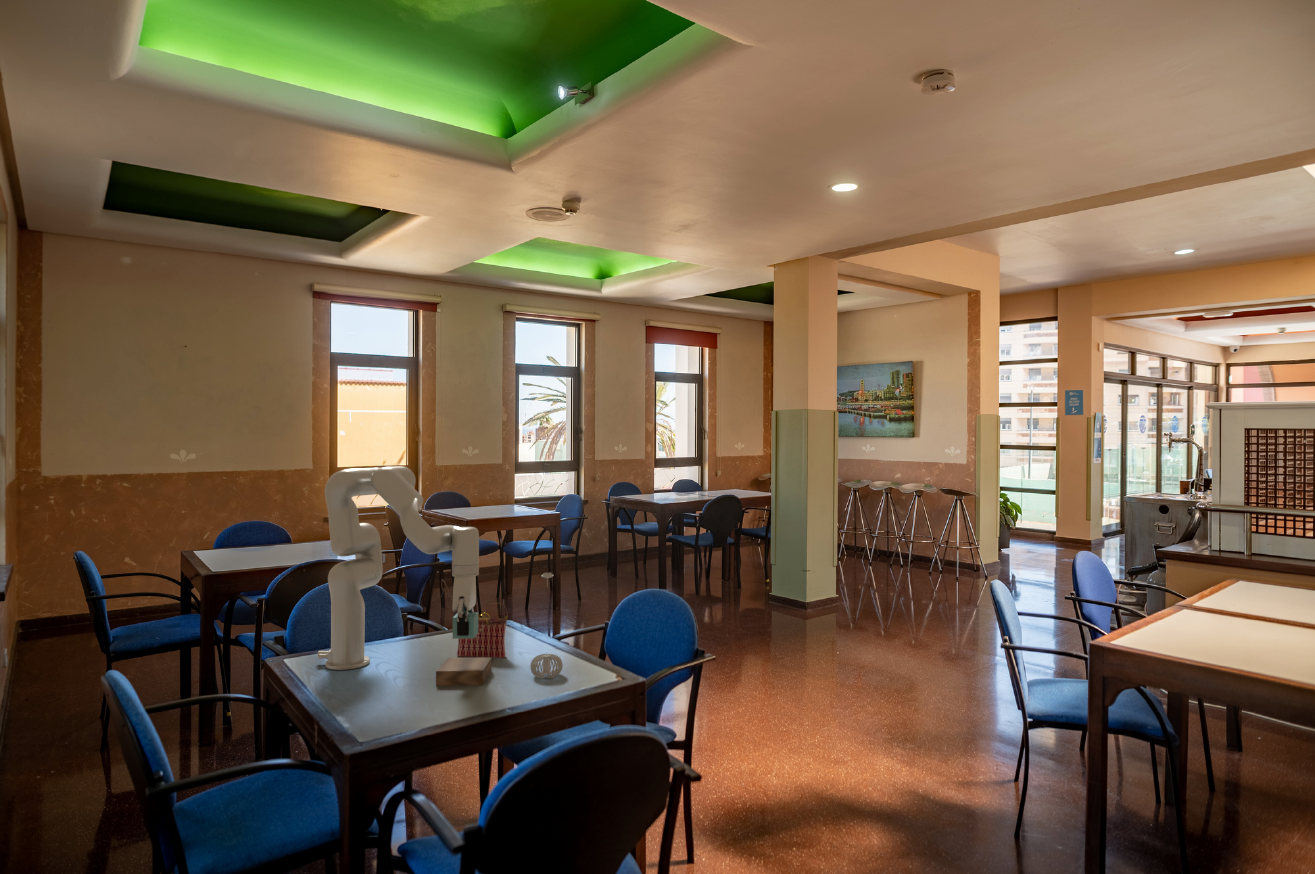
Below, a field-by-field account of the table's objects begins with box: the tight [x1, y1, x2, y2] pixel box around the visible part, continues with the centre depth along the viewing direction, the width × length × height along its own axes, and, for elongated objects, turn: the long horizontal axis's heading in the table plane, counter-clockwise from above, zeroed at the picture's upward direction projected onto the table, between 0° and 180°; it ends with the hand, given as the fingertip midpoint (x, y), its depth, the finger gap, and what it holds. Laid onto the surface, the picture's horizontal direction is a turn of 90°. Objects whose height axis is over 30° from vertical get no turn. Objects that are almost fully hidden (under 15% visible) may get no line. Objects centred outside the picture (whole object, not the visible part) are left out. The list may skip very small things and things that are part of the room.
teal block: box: [452, 612, 479, 640], centre depth 212 cm, size 6×6×6 cm
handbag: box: [440, 579, 508, 659], centre depth 232 cm, size 7×21×25 cm, turn 84°
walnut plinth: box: [435, 657, 492, 687], centre depth 212 cm, size 13×13×4 cm
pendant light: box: [530, 572, 564, 680], centre depth 214 cm, size 9×9×30 cm
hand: (465, 631), depth 212 cm, fingers closed on teal block, 6 cm apart
